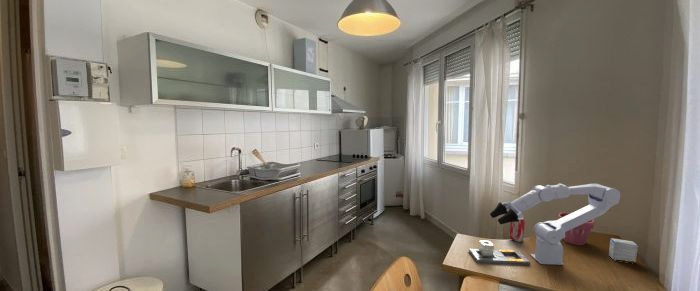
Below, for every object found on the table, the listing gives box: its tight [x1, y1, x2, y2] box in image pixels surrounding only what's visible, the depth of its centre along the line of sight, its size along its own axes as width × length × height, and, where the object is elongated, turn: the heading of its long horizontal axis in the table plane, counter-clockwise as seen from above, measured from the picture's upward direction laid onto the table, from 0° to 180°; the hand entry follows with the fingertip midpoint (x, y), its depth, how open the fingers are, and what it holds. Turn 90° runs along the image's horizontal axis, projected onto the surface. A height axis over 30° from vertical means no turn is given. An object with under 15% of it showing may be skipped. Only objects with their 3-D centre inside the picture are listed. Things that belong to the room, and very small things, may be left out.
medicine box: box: [608, 237, 639, 262], centre depth 125 cm, size 8×4×9 cm, turn 65°
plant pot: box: [557, 212, 595, 246], centre depth 143 cm, size 14×14×13 cm
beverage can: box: [508, 217, 526, 243], centre depth 144 cm, size 6×6×12 cm
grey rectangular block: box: [478, 240, 495, 258], centre depth 126 cm, size 4×4×7 cm
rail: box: [468, 248, 531, 266], centre depth 125 cm, size 22×10×2 cm, turn 87°
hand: (494, 219), depth 124 cm, fingers open, 7 cm apart
